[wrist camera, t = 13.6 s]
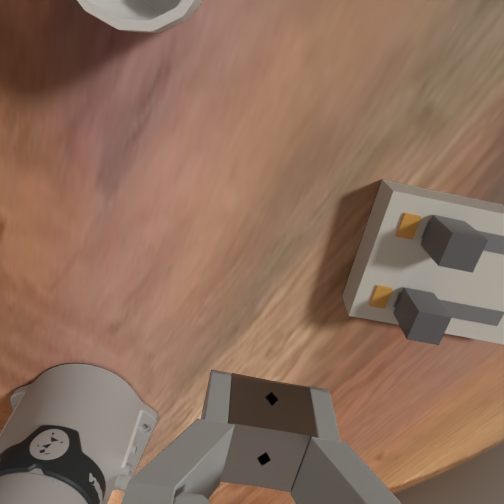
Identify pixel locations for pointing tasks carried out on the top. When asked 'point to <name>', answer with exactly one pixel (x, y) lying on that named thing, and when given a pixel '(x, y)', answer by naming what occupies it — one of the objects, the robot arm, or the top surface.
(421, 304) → the far tab
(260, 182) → the top surface
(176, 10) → the foam cup
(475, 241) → the near tab
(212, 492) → the robot arm
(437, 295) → the switch housing
